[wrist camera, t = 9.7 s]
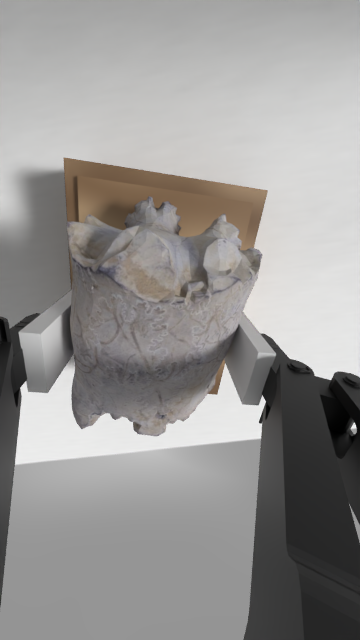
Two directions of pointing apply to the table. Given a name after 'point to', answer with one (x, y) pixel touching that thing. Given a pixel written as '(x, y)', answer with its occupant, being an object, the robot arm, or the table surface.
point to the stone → (153, 314)
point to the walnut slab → (160, 202)
